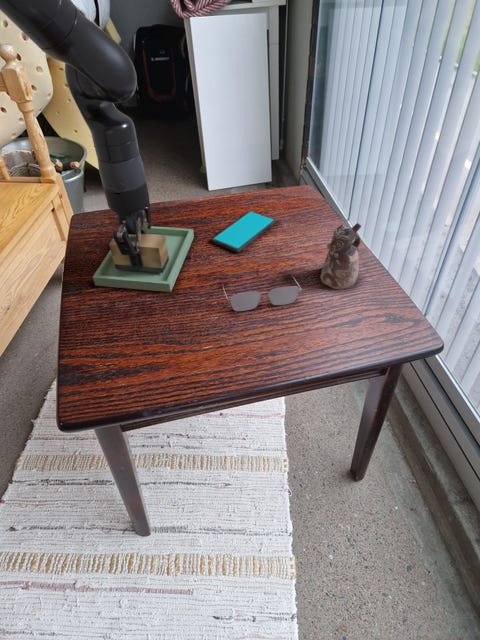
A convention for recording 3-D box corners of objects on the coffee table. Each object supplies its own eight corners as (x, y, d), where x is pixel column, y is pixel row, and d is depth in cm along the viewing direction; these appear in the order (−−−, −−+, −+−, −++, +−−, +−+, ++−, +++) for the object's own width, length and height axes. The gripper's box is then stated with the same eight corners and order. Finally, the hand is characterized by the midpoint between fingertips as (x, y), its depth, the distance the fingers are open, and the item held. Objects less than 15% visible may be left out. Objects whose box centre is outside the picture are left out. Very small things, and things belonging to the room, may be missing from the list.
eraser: (115, 269, 85) (108, 244, 81) (123, 256, 89) (117, 231, 84) (163, 273, 84) (158, 247, 80) (169, 259, 87) (165, 235, 83)
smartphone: (211, 238, 93) (250, 210, 102) (211, 242, 94) (250, 213, 102) (238, 249, 90) (276, 219, 99) (238, 253, 91) (275, 222, 99)
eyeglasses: (228, 313, 77) (226, 295, 75) (220, 288, 83) (219, 271, 81) (300, 302, 79) (302, 284, 76) (288, 279, 85) (289, 262, 82)
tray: (95, 285, 84) (92, 277, 82) (128, 232, 97) (126, 224, 96) (170, 292, 82) (169, 283, 80) (194, 237, 96) (193, 229, 94)
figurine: (315, 269, 86) (322, 217, 78) (348, 265, 87) (358, 213, 79) (327, 291, 81) (336, 238, 73) (362, 286, 82) (374, 233, 74)
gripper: (118, 161, 79) (135, 238, 91) (87, 198, 69) (110, 279, 81) (156, 163, 78) (168, 241, 90) (130, 200, 68) (148, 282, 80)
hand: (141, 259), depth 85 cm, fingers closed on eraser, 4 cm apart
